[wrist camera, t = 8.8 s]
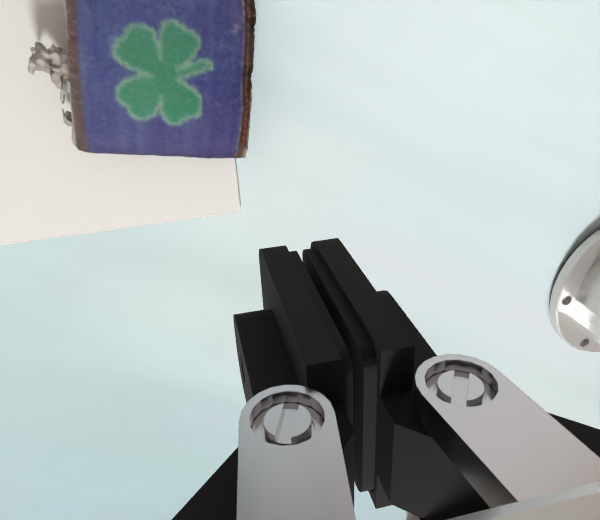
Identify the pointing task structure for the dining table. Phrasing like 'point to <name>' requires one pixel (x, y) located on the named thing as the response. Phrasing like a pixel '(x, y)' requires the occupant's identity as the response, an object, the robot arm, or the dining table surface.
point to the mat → (82, 154)
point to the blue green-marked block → (155, 76)
